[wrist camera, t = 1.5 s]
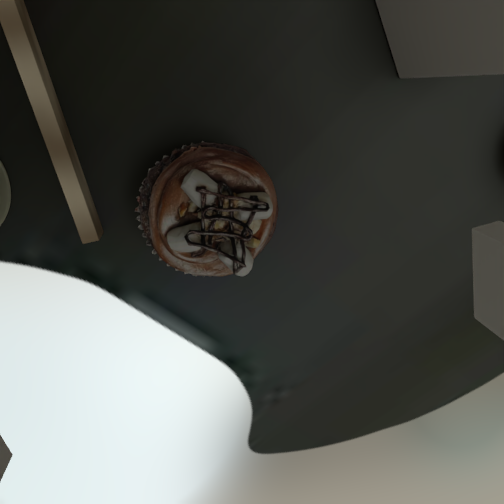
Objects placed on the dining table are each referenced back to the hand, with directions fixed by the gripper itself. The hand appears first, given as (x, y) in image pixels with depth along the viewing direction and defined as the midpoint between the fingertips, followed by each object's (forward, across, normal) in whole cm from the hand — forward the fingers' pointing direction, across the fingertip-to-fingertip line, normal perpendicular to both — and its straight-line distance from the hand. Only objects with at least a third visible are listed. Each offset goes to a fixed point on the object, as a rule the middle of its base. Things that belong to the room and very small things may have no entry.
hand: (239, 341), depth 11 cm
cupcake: (+24, 0, -2) cm, 24 cm away
